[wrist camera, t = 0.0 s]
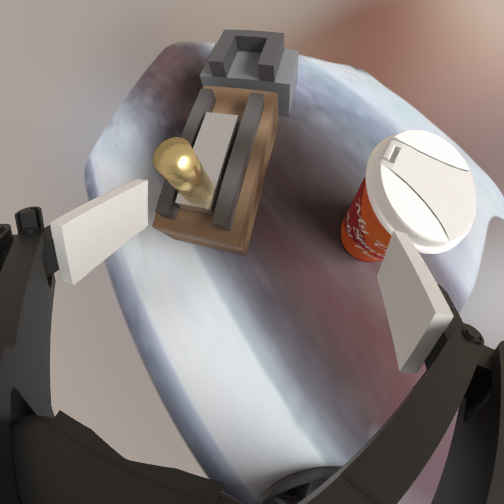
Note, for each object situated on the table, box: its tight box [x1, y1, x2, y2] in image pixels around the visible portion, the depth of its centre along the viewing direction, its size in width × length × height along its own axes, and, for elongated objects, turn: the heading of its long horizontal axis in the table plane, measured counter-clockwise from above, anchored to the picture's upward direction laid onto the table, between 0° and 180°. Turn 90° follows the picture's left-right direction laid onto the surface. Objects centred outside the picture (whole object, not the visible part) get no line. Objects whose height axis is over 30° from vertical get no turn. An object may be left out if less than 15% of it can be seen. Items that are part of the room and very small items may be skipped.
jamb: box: [200, 30, 298, 116], centre depth 29 cm, size 6×10×9 cm, turn 76°
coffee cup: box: [341, 130, 476, 262], centre depth 22 cm, size 8×8×15 cm
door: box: [153, 86, 279, 255], centre depth 27 cm, size 16×8×8 cm, turn 166°
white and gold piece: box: [153, 112, 240, 215], centre depth 21 cm, size 9×3×8 cm, turn 166°
